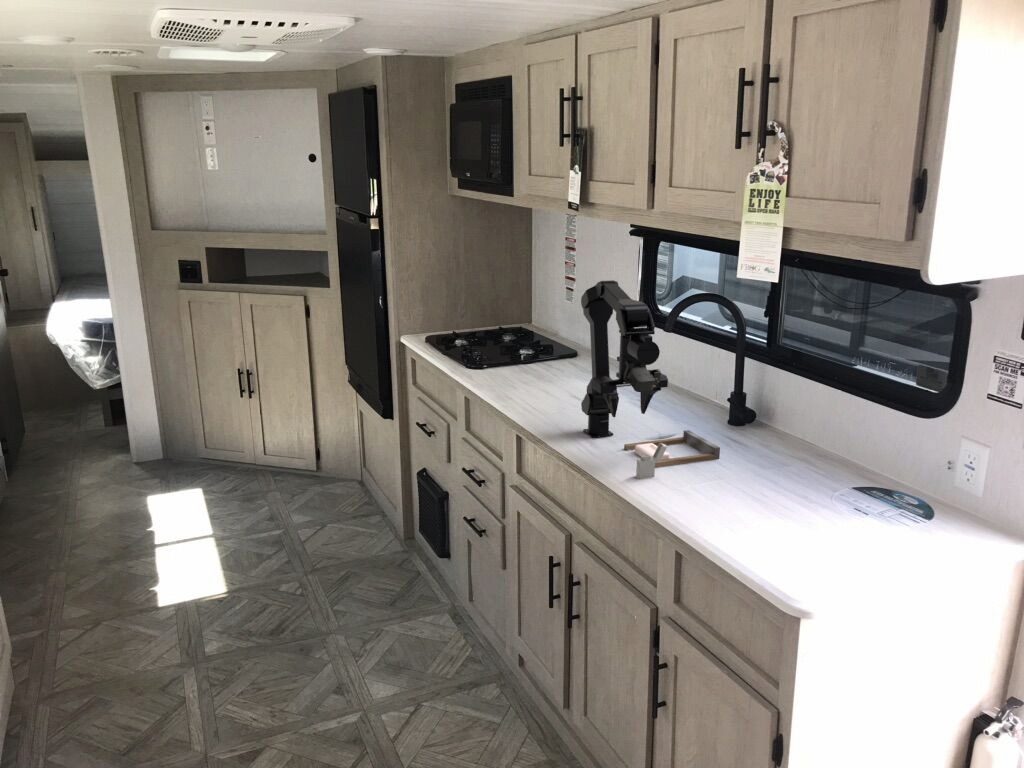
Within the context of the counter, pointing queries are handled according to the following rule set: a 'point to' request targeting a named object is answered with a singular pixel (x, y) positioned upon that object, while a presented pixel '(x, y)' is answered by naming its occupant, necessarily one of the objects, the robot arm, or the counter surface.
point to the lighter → (649, 462)
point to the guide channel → (690, 438)
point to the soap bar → (649, 450)
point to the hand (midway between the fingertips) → (628, 415)
